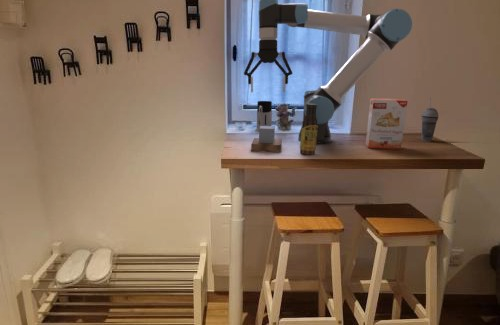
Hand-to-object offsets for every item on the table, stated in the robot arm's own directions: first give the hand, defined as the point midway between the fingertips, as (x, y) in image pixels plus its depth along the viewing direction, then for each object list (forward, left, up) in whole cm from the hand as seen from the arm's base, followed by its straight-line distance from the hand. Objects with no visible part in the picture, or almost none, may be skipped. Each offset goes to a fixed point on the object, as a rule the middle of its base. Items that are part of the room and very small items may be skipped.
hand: (267, 92), depth 156 cm
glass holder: (+4, -32, -23) cm, 40 cm away
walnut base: (-1, +7, -23) cm, 24 cm away
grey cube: (0, +7, -20) cm, 21 cm away
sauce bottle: (-18, +13, -23) cm, 32 cm away
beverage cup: (-75, -21, -23) cm, 81 cm away
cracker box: (-51, -3, -23) cm, 56 cm away
